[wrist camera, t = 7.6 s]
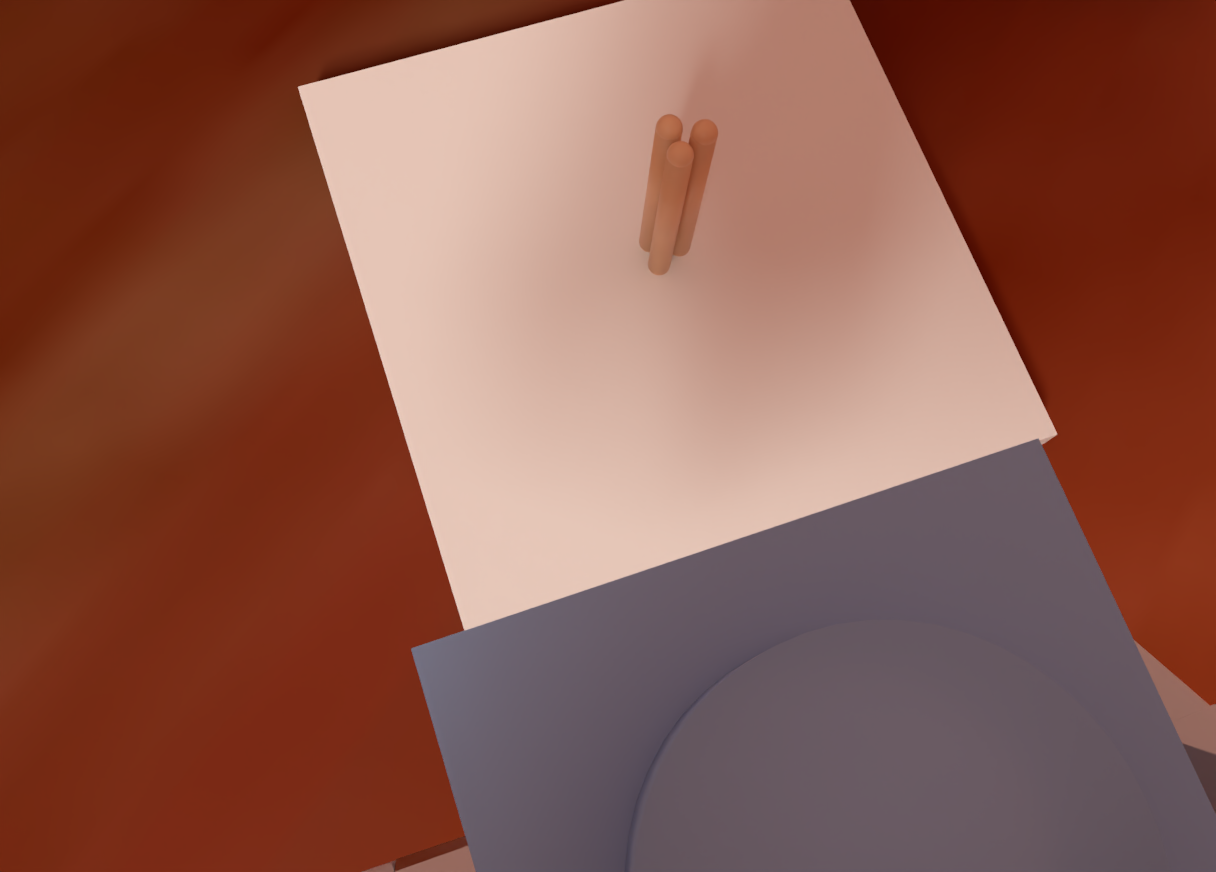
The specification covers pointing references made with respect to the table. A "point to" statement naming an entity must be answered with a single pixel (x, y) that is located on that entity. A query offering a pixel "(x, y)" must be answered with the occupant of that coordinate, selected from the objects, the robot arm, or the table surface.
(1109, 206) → the table surface
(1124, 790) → the blue domed block
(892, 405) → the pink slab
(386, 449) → the table surface
